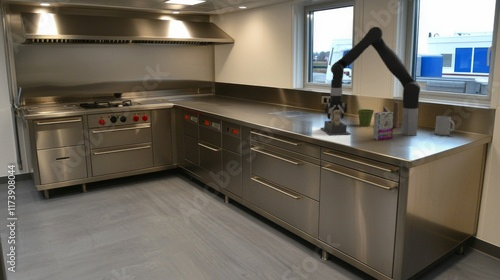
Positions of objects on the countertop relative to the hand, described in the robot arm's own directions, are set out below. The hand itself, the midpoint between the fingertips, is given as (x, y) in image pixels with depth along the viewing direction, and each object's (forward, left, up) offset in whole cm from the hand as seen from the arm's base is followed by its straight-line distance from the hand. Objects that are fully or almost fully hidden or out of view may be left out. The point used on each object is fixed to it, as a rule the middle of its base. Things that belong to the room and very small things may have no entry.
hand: (335, 118), depth 265 cm
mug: (-18, -67, -9) cm, 70 cm away
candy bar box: (-25, -22, -9) cm, 35 cm away
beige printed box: (0, 0, -8) cm, 8 cm away
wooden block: (+12, -44, -9) cm, 47 cm away
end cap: (0, 0, -9) cm, 9 cm away
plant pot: (+19, -28, -9) cm, 35 cm away
